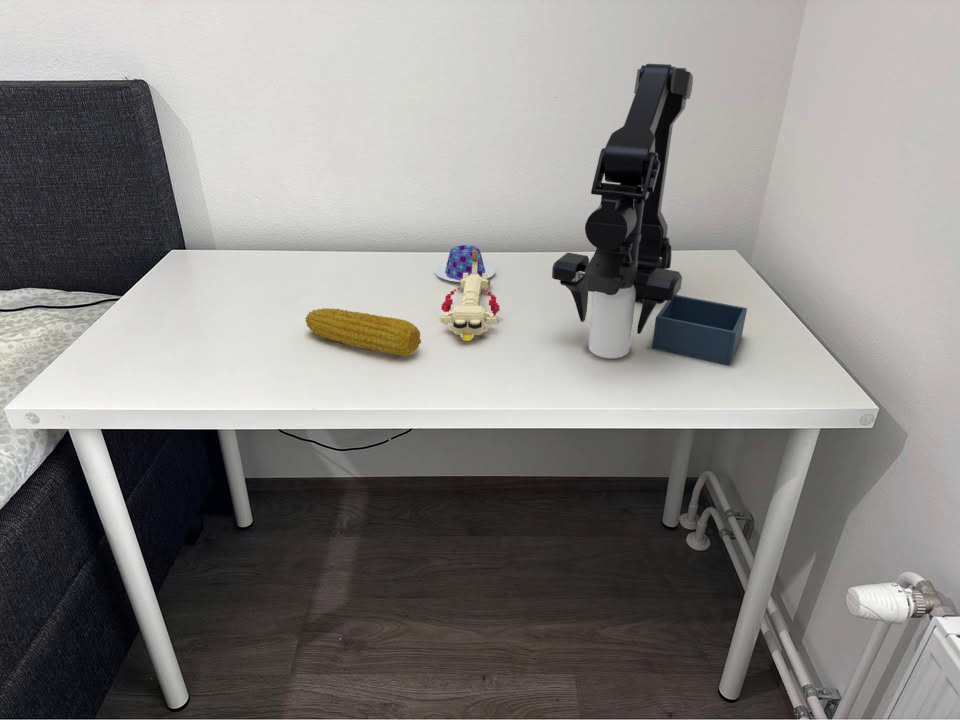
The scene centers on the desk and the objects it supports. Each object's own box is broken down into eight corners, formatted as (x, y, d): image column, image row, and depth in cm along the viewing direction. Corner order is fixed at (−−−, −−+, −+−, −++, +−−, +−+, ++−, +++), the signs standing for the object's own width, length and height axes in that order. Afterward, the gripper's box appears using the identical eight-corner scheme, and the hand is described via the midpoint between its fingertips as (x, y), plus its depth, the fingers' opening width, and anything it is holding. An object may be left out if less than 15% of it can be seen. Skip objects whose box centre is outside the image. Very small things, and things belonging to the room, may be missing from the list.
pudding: (441, 262, 147) (440, 237, 145) (498, 264, 146) (498, 240, 143) (430, 283, 137) (429, 258, 135) (491, 287, 136) (491, 261, 133)
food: (425, 350, 113) (423, 316, 110) (407, 366, 108) (405, 331, 106) (316, 326, 121) (312, 294, 118) (296, 340, 116) (291, 307, 113)
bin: (651, 348, 114) (655, 316, 111) (667, 323, 121) (672, 294, 119) (729, 365, 109) (735, 333, 106) (741, 338, 117) (747, 308, 114)
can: (633, 346, 114) (641, 277, 108) (622, 363, 109) (630, 292, 103) (595, 338, 117) (601, 270, 111) (582, 355, 112) (588, 285, 106)
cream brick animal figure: (449, 292, 137) (436, 341, 114) (449, 247, 133) (435, 289, 110) (500, 293, 136) (497, 342, 113) (501, 248, 133) (498, 291, 110)
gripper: (540, 235, 101) (535, 333, 108) (670, 256, 93) (655, 360, 100) (568, 216, 110) (562, 308, 117) (689, 234, 102) (674, 331, 109)
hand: (610, 326), depth 111 cm, fingers open, 9 cm apart
